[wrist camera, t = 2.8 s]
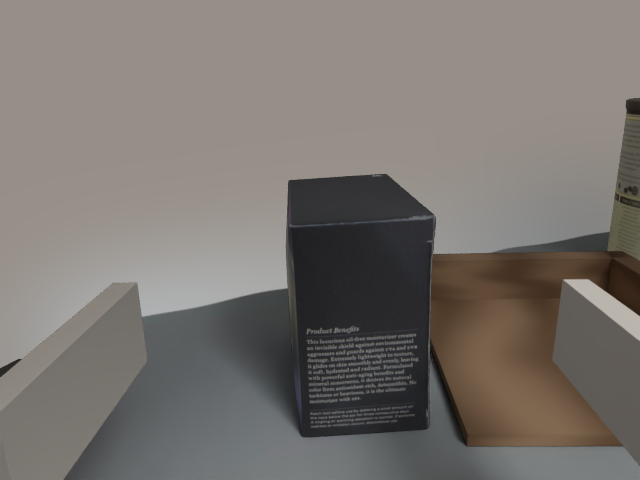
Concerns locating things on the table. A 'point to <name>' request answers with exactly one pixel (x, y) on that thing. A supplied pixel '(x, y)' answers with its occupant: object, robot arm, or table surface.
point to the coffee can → (628, 188)
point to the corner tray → (517, 343)
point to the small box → (359, 304)
